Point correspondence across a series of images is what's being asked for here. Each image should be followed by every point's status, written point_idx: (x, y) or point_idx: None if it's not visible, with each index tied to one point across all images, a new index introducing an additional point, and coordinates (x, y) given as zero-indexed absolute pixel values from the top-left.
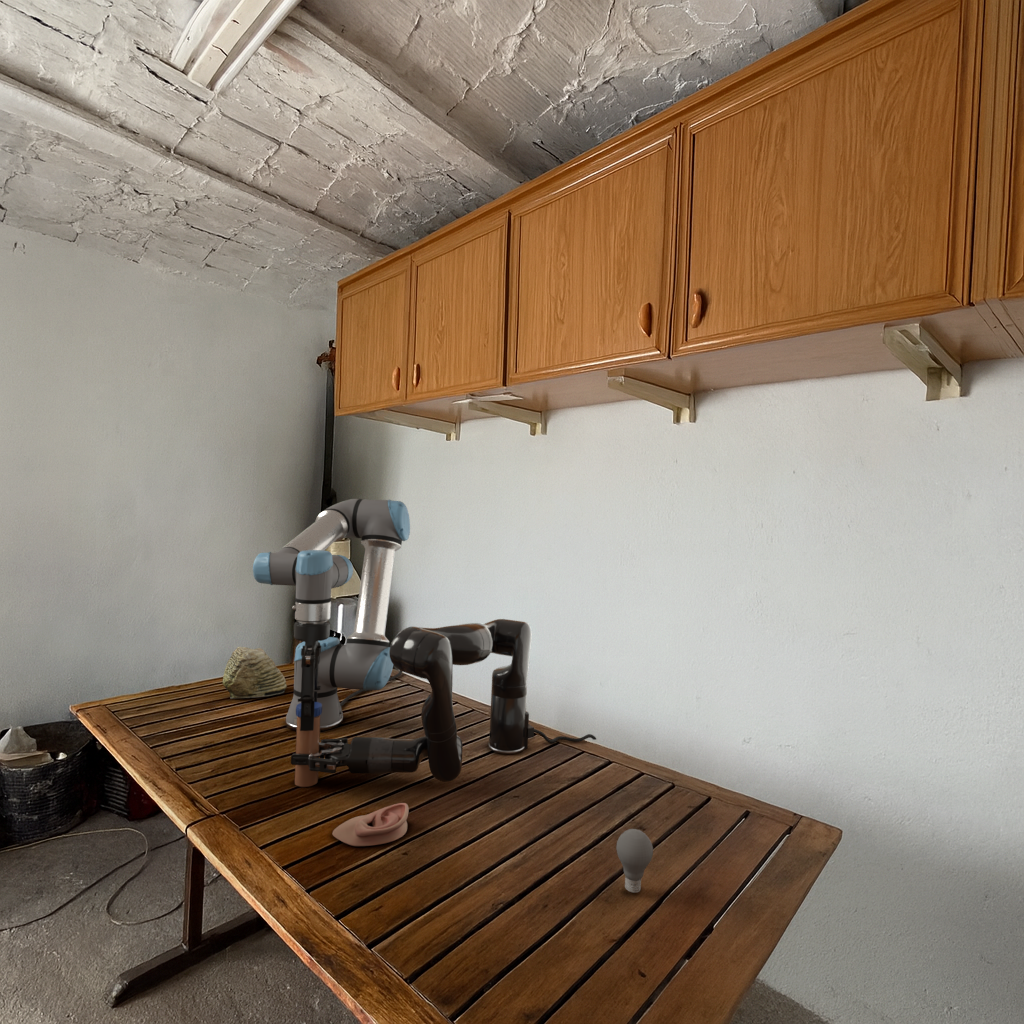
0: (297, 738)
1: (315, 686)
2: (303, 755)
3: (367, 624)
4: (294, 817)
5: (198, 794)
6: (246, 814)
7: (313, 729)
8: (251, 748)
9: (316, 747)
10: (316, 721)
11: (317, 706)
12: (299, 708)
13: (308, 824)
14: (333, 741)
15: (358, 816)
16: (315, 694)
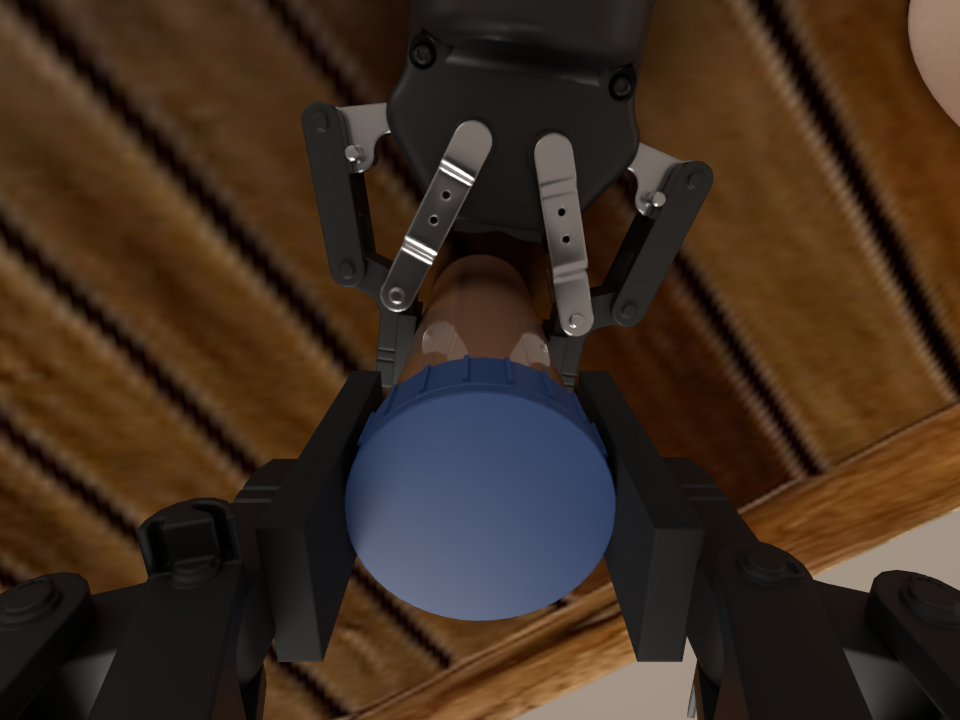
0: None
1: (238, 610)
2: (561, 363)
3: None
4: (789, 314)
5: (534, 627)
6: (715, 474)
7: (587, 371)
8: (139, 551)
9: (522, 305)
10: (551, 373)
11: (531, 433)
12: (571, 589)
13: (865, 255)
14: (356, 204)
15: (956, 25)
16: (316, 524)
